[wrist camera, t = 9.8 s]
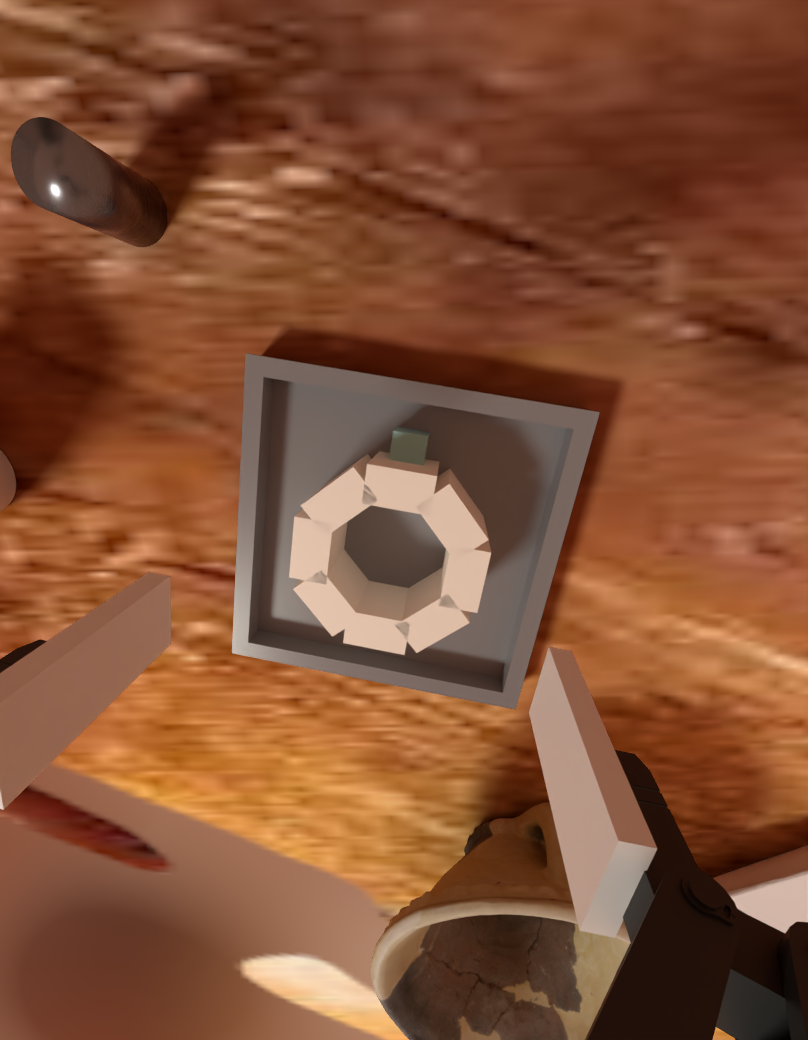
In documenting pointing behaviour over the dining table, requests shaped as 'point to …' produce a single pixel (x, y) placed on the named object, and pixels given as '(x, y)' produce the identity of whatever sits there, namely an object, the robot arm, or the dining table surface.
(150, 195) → the capsule
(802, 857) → the salad plate
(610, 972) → the bowl
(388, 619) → the ring
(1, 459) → the cup
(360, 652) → the tray
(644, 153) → the dining table surface
